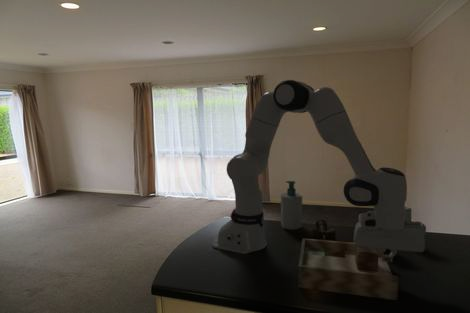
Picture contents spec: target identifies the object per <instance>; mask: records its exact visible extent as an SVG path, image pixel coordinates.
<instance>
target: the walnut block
mask: <svg viewBox="0 0 470 313" xmlns="http://www.w3.org/2000/svg"><path fill="white" fill-rule="evenodd" d="M355 261H356V266H357V270H366V271H375V272H378V254H377V252H376V249H374V248H363V247H356V258H355Z"/></svg>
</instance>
